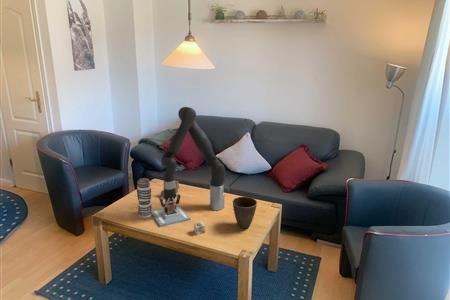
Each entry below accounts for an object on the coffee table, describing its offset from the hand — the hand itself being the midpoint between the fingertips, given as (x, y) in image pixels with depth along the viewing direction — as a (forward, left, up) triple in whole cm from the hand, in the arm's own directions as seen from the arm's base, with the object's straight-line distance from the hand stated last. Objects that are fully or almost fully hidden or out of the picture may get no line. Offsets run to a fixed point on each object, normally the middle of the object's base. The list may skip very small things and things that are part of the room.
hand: (170, 210), depth 215 cm
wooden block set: (-12, -32, -4) cm, 34 cm away
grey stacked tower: (+14, -10, -4) cm, 18 cm away
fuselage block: (0, 0, -1) cm, 1 cm away
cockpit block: (-9, +26, -4) cm, 28 cm away
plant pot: (-37, +31, -4) cm, 48 cm away
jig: (0, 0, -4) cm, 4 cm away
